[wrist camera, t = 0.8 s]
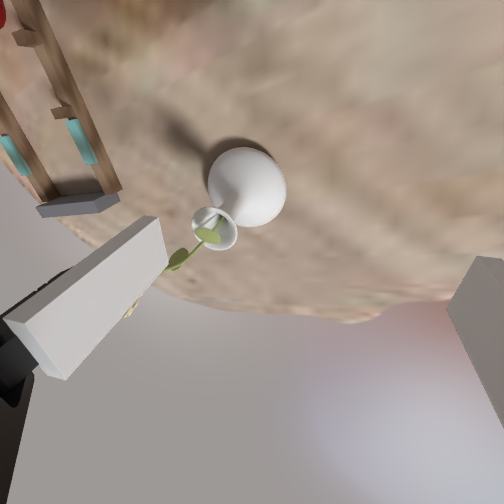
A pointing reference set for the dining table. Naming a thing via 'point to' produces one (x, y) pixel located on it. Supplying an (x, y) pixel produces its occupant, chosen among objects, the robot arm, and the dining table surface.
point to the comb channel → (72, 108)
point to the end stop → (78, 204)
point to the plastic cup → (2, 14)
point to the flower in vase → (234, 201)
